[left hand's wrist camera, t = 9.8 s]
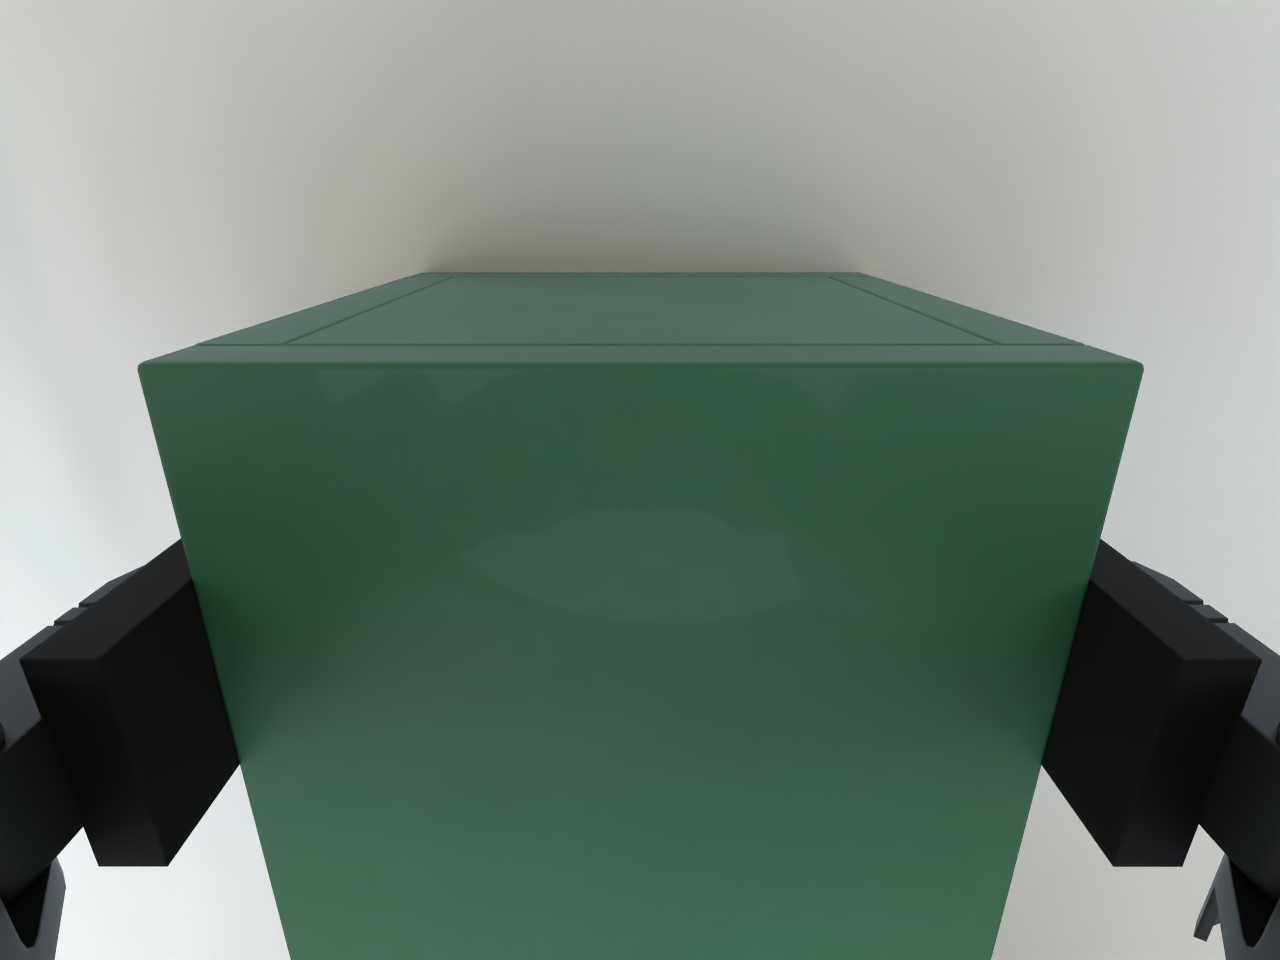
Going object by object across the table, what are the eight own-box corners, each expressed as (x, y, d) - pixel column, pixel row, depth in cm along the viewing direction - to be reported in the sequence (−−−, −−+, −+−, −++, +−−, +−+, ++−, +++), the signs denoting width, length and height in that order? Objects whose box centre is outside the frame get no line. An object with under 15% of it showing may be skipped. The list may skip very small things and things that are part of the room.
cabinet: (796, 877, 24) (899, 1321, 14) (485, 877, 24) (382, 1320, 14) (862, 272, 17) (1149, 362, 7) (419, 272, 17) (131, 362, 7)
